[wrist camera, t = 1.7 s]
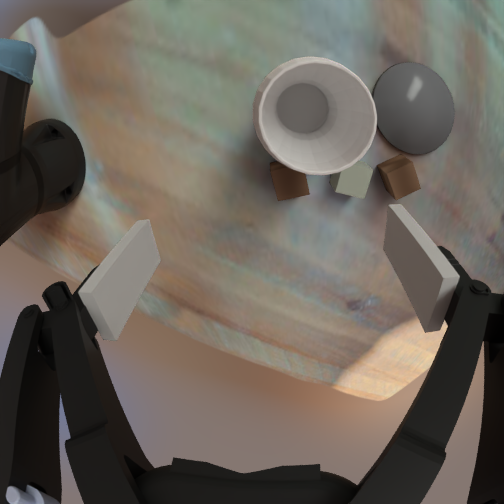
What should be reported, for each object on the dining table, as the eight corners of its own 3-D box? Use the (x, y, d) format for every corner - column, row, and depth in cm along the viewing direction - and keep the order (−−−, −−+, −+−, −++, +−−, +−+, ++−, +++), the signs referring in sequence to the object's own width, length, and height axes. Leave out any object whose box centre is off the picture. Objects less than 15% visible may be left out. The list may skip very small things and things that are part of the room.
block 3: (385, 189, 38) (396, 200, 35) (376, 165, 37) (386, 173, 33) (408, 178, 37) (420, 188, 34) (400, 154, 35) (412, 161, 32)
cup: (337, 65, 30) (379, 55, 17) (343, 144, 35) (383, 179, 23) (252, 70, 31) (241, 58, 18) (262, 149, 37) (259, 187, 24)
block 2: (329, 181, 38) (335, 192, 35) (336, 154, 36) (343, 161, 33) (356, 188, 39) (364, 199, 35) (364, 161, 36) (373, 170, 33)
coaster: (371, 151, 35) (373, 152, 35) (369, 57, 29) (371, 56, 28) (448, 155, 34) (451, 157, 34) (451, 71, 27) (454, 71, 27)
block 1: (277, 190, 40) (278, 201, 36) (270, 162, 38) (270, 171, 34) (306, 184, 39) (309, 194, 35) (299, 156, 37) (303, 163, 33)
